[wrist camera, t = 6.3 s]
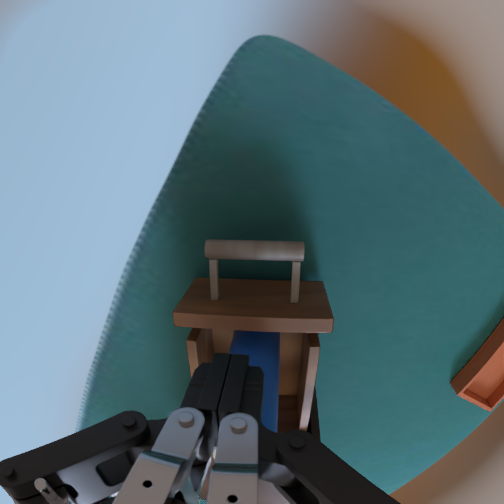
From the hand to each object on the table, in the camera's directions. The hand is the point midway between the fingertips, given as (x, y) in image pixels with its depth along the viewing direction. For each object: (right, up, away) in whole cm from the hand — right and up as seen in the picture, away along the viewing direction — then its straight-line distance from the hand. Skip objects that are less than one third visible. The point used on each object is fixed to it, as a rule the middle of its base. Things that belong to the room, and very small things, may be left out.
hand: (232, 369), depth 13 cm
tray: (+33, -9, +16) cm, 38 cm away
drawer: (+1, -1, +16) cm, 16 cm away
